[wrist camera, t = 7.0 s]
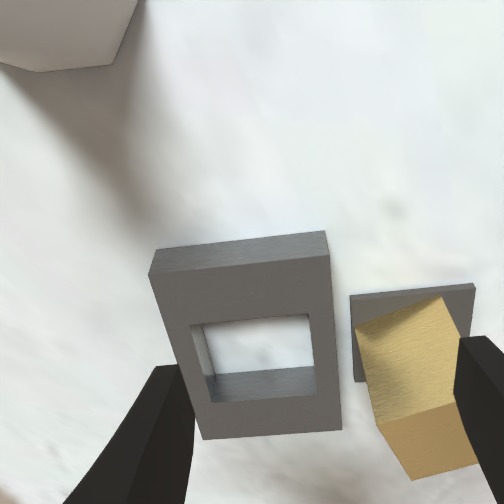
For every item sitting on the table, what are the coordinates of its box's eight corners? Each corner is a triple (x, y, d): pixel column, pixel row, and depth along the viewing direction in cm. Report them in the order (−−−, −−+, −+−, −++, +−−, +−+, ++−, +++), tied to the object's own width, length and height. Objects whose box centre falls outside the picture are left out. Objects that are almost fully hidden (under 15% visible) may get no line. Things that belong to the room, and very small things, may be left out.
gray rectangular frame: (324, 230, 22) (329, 254, 21) (337, 401, 29) (342, 430, 27) (156, 249, 23) (147, 274, 21) (206, 411, 30) (202, 440, 28)
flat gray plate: (472, 283, 24) (475, 288, 23) (461, 367, 27) (464, 373, 27) (349, 295, 24) (351, 300, 24) (353, 376, 28) (354, 382, 27)
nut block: (440, 294, 24) (487, 391, 19) (464, 352, 26) (513, 454, 21) (354, 326, 25) (376, 425, 20) (384, 379, 27) (411, 480, 22)
